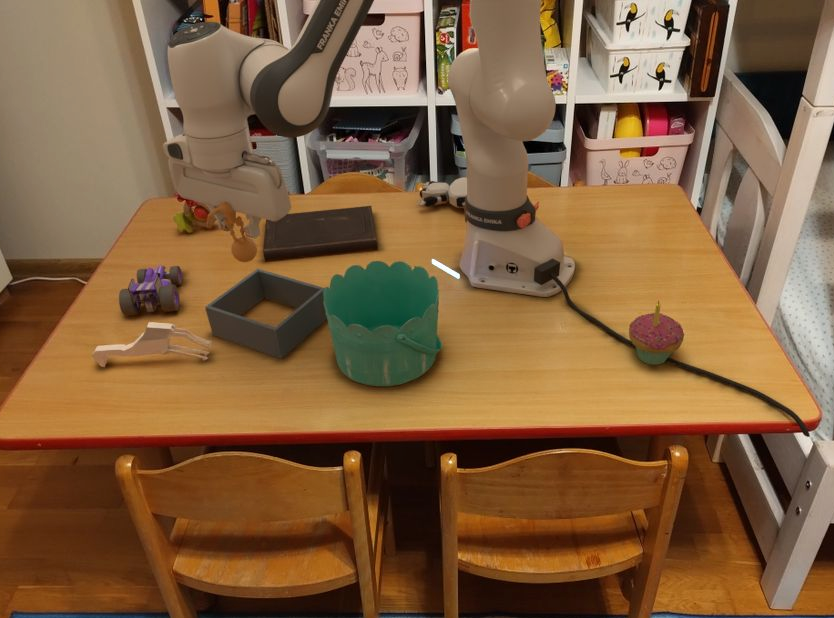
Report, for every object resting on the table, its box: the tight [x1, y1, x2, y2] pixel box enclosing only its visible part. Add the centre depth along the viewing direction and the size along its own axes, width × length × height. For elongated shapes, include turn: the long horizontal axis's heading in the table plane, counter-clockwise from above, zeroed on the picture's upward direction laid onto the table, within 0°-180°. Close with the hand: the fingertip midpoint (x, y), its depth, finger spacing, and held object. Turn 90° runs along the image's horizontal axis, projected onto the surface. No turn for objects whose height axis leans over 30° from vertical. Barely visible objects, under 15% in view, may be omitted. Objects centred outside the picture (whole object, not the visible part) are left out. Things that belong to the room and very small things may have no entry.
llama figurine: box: [91, 321, 213, 368], centre depth 119 cm, size 2×11×18 cm
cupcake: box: [628, 300, 685, 366], centre depth 113 cm, size 9×8×12 cm
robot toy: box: [416, 176, 467, 210], centre depth 162 cm, size 12×4×15 cm
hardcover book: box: [262, 205, 379, 262], centre depth 152 cm, size 16×23×2 cm
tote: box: [204, 268, 327, 360], centre depth 126 cm, size 15×14×6 cm
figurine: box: [206, 202, 258, 263], centre depth 111 cm, size 8×6×12 cm
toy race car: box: [118, 265, 183, 316], centre depth 135 cm, size 10×15×6 cm, turn 6°
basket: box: [323, 260, 443, 387], centre depth 116 cm, size 19×18×13 cm
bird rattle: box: [173, 193, 217, 234], centre depth 155 cm, size 6×11×9 cm
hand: (240, 232), depth 111 cm, fingers closed on figurine, 4 cm apart
